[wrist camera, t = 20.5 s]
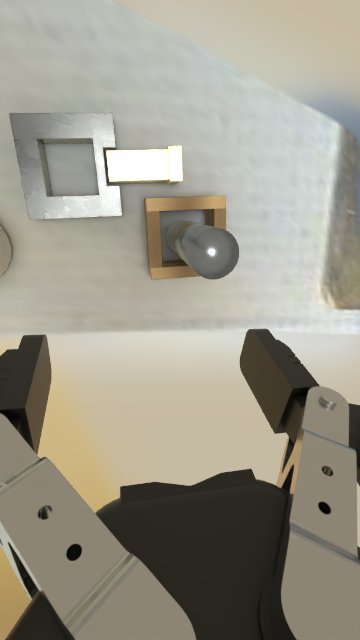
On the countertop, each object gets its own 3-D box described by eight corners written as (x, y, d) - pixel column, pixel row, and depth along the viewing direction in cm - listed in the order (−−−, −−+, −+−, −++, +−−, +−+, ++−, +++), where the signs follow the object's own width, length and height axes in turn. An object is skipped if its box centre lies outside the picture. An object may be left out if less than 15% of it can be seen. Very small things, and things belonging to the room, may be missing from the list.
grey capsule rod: (166, 253, 37) (190, 281, 23) (165, 220, 36) (188, 229, 22) (197, 251, 37) (238, 277, 23) (196, 219, 36) (239, 226, 22)
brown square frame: (149, 272, 37) (151, 279, 34) (144, 199, 35) (146, 198, 31) (215, 267, 38) (225, 274, 35) (215, 196, 36) (226, 195, 32)
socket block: (36, 218, 34) (29, 219, 31) (18, 120, 31) (9, 113, 28) (122, 214, 35) (121, 215, 32) (113, 120, 32) (112, 113, 29)
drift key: (111, 185, 33) (109, 182, 30) (107, 153, 32) (105, 147, 29) (177, 183, 34) (182, 180, 31) (175, 152, 33) (181, 146, 30)
